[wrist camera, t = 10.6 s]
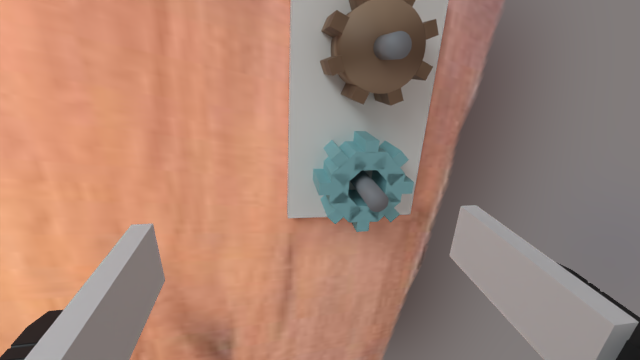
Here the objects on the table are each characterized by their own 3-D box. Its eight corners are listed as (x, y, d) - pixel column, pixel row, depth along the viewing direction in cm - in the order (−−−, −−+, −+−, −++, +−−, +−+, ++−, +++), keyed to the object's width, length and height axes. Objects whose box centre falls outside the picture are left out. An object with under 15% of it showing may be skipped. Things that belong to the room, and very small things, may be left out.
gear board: (290, -19, 26) (300, -55, 18) (440, -3, 28) (508, -29, 20) (287, 211, 33) (293, 257, 26) (404, 208, 36) (443, 249, 28)
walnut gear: (323, -13, 25) (332, -25, 21) (422, -3, 26) (447, -13, 23) (317, 98, 28) (325, 103, 24) (406, 101, 29) (426, 107, 26)
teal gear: (311, 213, 32) (316, 233, 29) (314, 130, 29) (322, 139, 25) (390, 211, 34) (405, 229, 30) (402, 131, 31) (421, 141, 27)
